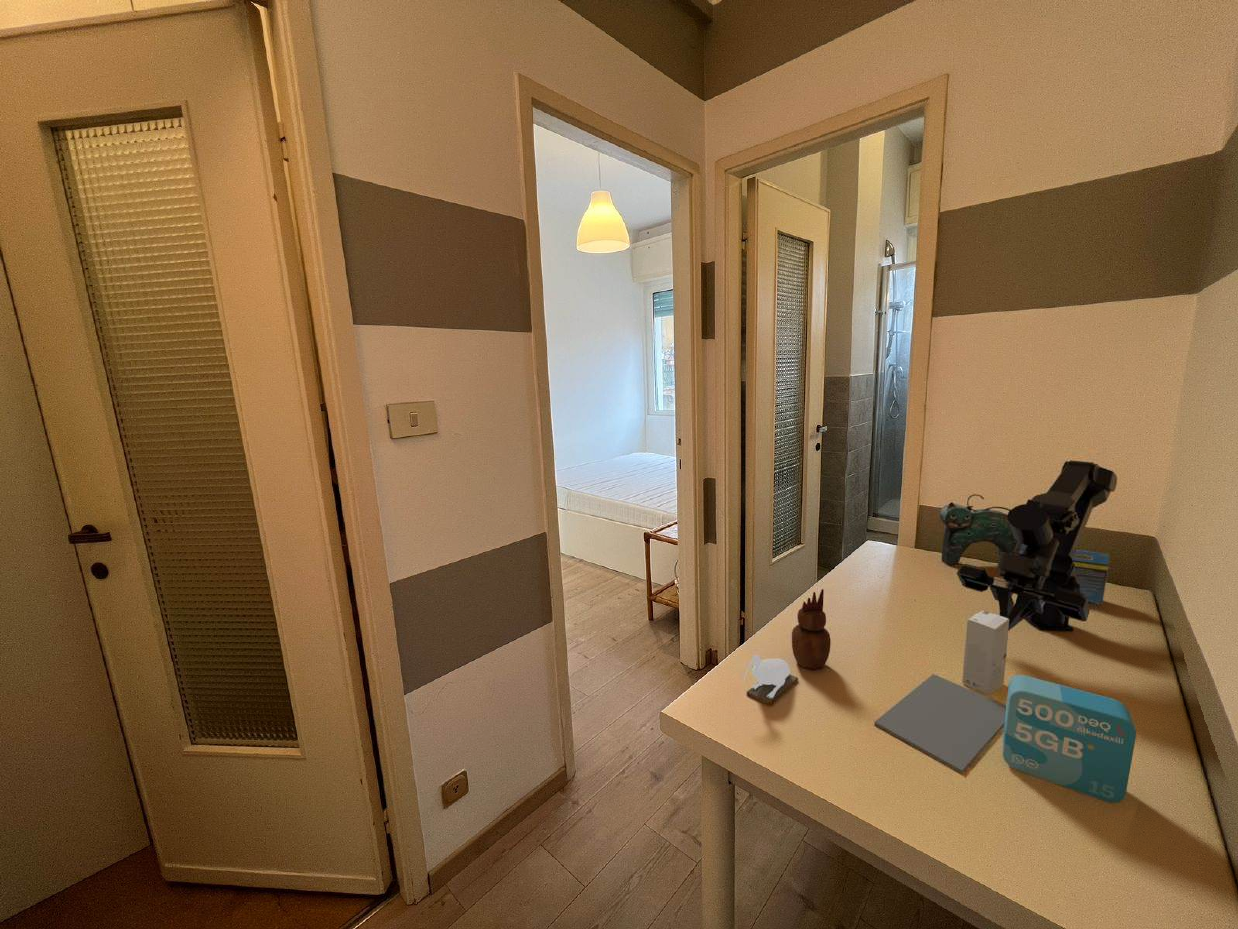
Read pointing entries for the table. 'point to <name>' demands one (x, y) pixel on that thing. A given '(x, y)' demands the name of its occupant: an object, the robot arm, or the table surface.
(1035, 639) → the table surface
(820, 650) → the wooden figurine
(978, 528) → the ceramic cat
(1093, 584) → the label tape box
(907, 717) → the mat
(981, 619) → the skincare box
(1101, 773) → the data package
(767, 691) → the figurine
